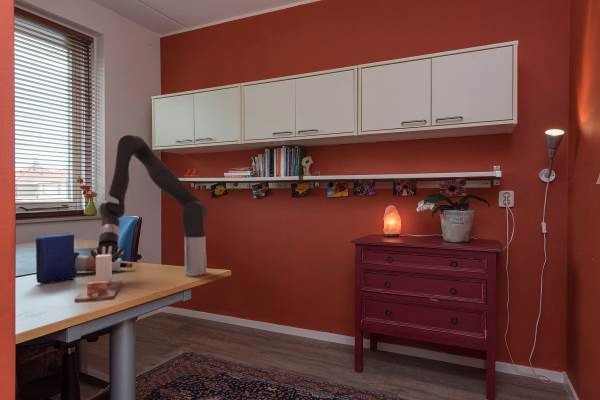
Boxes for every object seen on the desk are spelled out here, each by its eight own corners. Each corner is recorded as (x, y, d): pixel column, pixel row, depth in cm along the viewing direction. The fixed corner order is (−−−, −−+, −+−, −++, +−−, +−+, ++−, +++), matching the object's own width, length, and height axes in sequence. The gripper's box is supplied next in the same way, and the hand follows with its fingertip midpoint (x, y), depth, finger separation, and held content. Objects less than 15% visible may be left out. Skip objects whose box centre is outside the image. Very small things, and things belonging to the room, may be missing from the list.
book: (71, 277, 167) (70, 232, 166) (77, 278, 164) (77, 233, 164) (34, 284, 154) (34, 235, 154) (41, 285, 151) (40, 236, 151)
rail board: (121, 282, 156) (121, 270, 156) (113, 298, 132) (113, 284, 132) (89, 285, 152) (88, 272, 152) (74, 302, 128) (74, 287, 128)
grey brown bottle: (130, 280, 180) (131, 263, 176) (48, 278, 170) (47, 260, 165) (133, 267, 189) (134, 250, 185) (55, 264, 178) (54, 246, 174)
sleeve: (111, 280, 154) (111, 254, 154) (110, 283, 149) (109, 256, 149) (98, 281, 152) (97, 254, 152) (96, 284, 147) (95, 256, 147)
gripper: (90, 231, 160) (85, 265, 149) (125, 230, 165) (122, 263, 153) (93, 242, 165) (88, 276, 154) (126, 241, 170) (123, 273, 159)
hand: (105, 269), depth 154 cm, fingers closed
